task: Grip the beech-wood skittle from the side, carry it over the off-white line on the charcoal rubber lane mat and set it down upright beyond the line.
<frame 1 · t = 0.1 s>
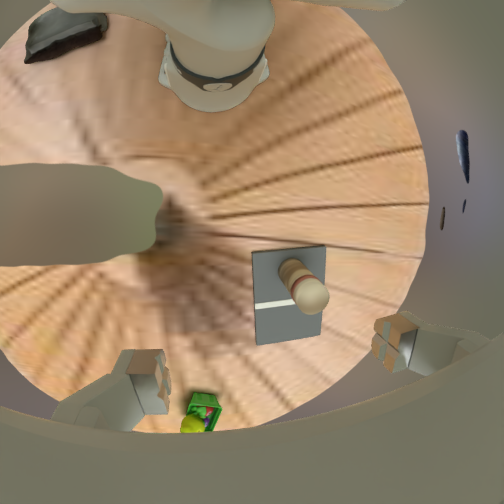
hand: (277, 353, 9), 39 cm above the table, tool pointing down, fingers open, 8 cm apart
lane mat: (289, 297, 53), on the table
skittle: (290, 270, 51), point 1 cm above the table, touching lane mat
fruit basket: (198, 403, 59), on the table
rock: (73, 37, 30), on the table
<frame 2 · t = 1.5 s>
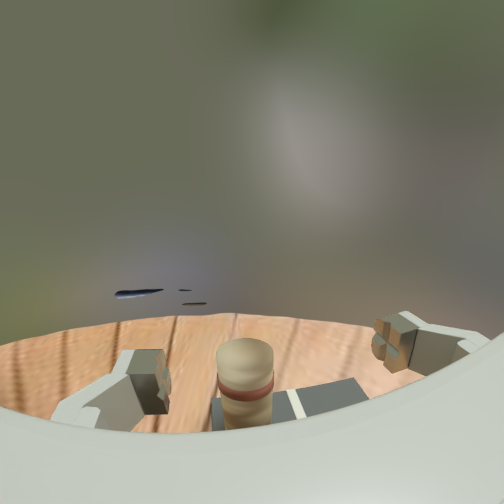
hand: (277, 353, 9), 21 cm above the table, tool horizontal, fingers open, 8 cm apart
lane mat: (299, 432, 27), on the table
skittle: (248, 434, 26), point 1 cm above the table, touching lane mat
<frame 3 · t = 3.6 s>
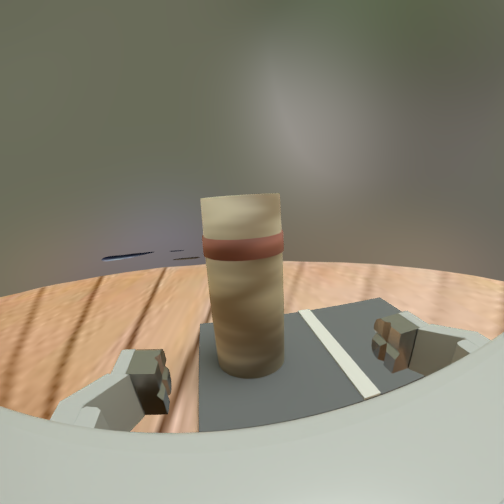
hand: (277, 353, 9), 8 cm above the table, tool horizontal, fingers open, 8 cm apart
lane mat: (324, 356, 21), on the table
skittle: (251, 358, 20), point 1 cm above the table, touching lane mat
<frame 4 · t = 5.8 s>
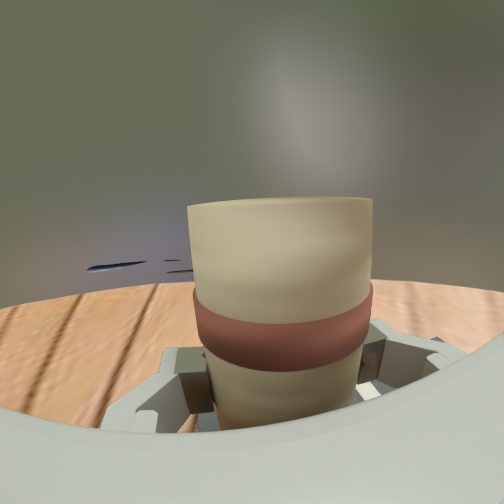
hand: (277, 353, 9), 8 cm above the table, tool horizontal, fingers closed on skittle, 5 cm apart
lane mat: (384, 443, 11), on the table
skittle: (282, 465, 10), point 1 cm above the table, touching gripper, lane mat
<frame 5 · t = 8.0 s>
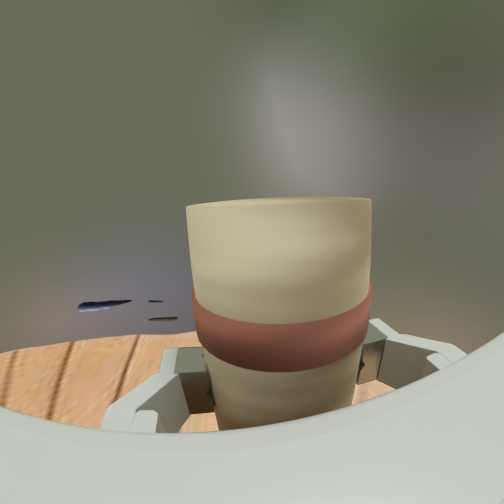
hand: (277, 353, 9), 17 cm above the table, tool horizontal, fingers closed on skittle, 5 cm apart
skittle: (281, 466, 10), point 11 cm above the table, touching gripper
when the fingers open (9 cm above the table, at t = 10.4 s): skittle drops 1 cm, resting on lane mat.
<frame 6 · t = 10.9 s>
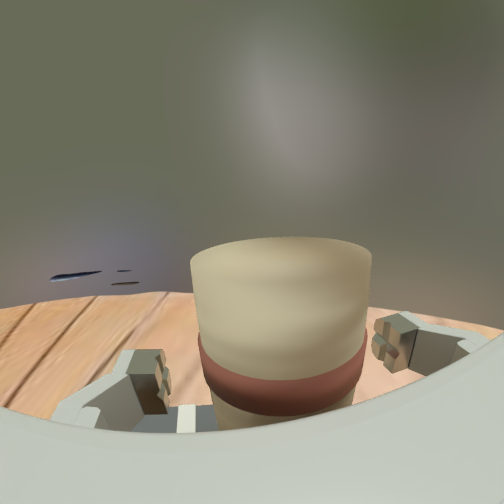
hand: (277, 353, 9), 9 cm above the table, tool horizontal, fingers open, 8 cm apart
lane mat: (181, 494, 10), on the table
skittle: (281, 478, 10), point 1 cm above the table, touching lane mat
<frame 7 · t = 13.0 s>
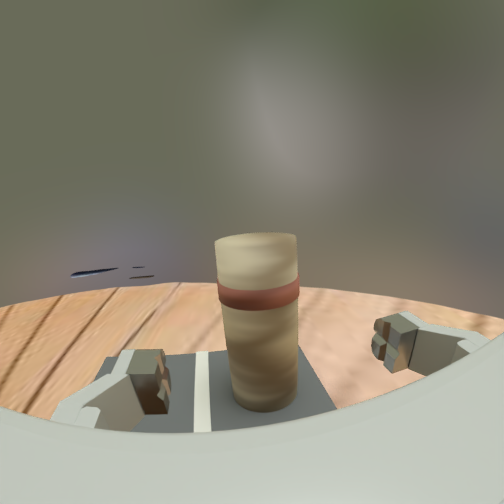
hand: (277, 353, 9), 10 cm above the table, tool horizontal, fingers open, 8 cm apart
lane mat: (198, 407, 19), on the table
skittle: (265, 391, 19), point 1 cm above the table, touching lane mat
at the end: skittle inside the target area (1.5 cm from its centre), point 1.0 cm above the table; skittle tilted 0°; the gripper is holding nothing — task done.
